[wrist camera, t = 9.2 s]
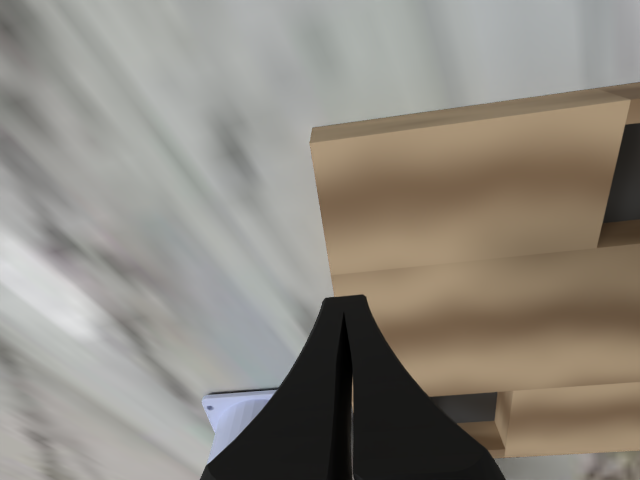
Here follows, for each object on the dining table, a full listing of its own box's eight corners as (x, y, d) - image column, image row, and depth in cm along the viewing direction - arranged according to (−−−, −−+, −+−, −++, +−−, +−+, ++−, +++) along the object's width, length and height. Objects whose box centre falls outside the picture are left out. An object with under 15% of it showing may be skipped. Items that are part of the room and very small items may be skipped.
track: (784, 407, 28) (851, 467, 25) (359, 433, 31) (363, 491, 28) (1033, 27, 17) (1234, 34, 13) (312, 127, 20) (307, 156, 16)
